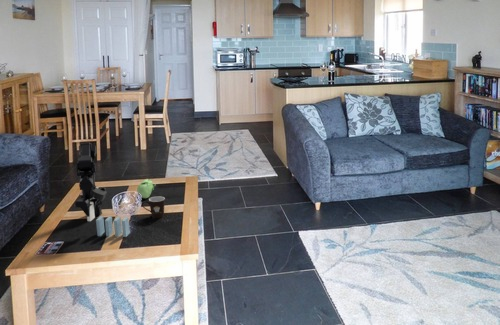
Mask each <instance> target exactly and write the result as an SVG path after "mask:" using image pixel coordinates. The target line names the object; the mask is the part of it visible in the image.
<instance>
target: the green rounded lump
mask: <svg viewBox="0 0 500 325" xmlns="http://www.w3.org/2000/svg"><path fill="white" fill-rule="evenodd" d="M155 187H156V183H155V184H153V179H152V178H150V179H149V178H145V179H144V180H142V181H141V182H140V183H139V184H138V186H137V188H136V192H138V193H140V194H141V195H142V197H141V198H142V199H149V198H150V196H151V194H152V191H154V190H155ZM138 193H137V194H138Z"/></svg>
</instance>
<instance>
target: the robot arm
mask: <svg viewBox="0 0 500 325" xmlns="http://www.w3.org/2000/svg"><path fill="white" fill-rule="evenodd" d="M78 153H79V155H80V157H78V160H77V162H76V175H77V176H76V177H80V180H79V183H78V186H79V190H80V191H81V195H80V198H78V199H77V200H76V201H75V202H74V208H80V209H81V210H82V211H83V213H84V214H85V217H86V218H87V217H89V216H90V206H91V205H92V204H90V201H92V202H93V203H94V213H95V218H99V217H100V216H102V214H103V211H102V205H103V201H104V199H105V198H106V196H107V194H108V191H107V188H106V187H104V186H103V187H101V188H97V186H96V179H95V173H96V163H95V162H94V161H95V158H96V154H97V147H96V145H95V144H94V143H93V144H92V142H82V143H80V145H78Z"/></svg>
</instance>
